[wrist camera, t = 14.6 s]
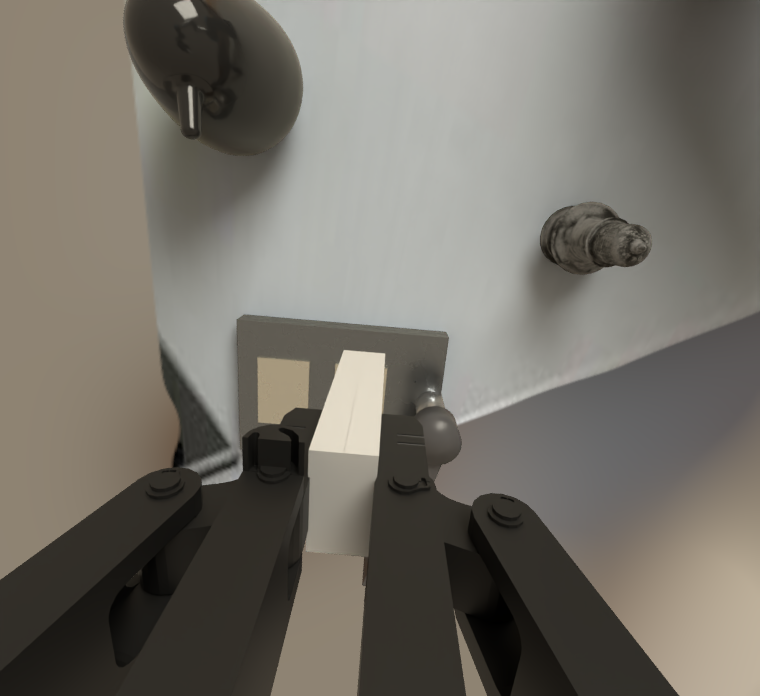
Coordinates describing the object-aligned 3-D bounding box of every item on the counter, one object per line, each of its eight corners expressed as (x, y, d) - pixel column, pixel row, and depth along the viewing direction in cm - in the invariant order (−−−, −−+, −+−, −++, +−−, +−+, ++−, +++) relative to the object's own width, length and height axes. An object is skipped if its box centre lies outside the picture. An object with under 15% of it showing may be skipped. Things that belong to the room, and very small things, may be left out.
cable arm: (418, 388, 39) (422, 416, 34) (458, 401, 40) (468, 430, 34) (357, 543, 45) (353, 587, 40) (393, 553, 45) (393, 598, 40)
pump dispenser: (206, 169, 37) (91, 145, 23) (177, 31, 34) (22, -97, 20) (320, 157, 37) (274, 124, 22) (301, 15, 34) (234, -129, 19)
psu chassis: (450, 332, 42) (459, 352, 36) (432, 455, 46) (439, 491, 40) (243, 314, 42) (219, 332, 36) (246, 439, 46) (225, 473, 40)
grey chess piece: (527, 259, 39) (583, 280, 28) (551, 194, 37) (621, 189, 26) (586, 276, 40) (666, 303, 28) (613, 212, 38) (709, 213, 26)
